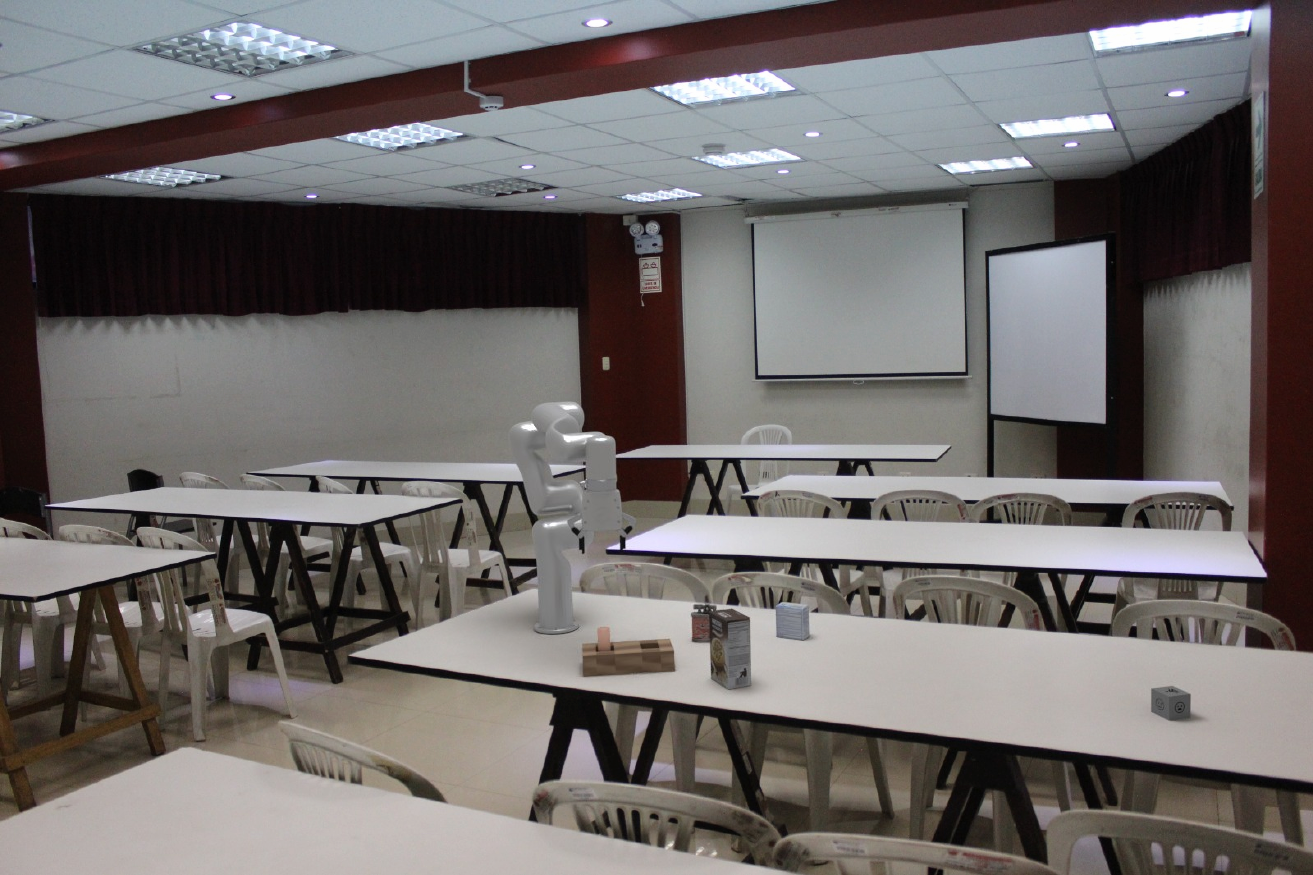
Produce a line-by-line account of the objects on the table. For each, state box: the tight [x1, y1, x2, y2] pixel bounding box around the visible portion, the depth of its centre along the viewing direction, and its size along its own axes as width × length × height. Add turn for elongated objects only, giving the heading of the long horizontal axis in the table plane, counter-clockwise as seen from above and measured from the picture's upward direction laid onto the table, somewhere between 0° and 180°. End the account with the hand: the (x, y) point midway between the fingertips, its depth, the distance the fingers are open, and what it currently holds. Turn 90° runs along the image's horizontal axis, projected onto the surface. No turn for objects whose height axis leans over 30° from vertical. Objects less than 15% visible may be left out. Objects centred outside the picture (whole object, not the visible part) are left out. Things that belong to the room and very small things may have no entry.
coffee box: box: [709, 608, 752, 690], centre depth 225 cm, size 9×6×16 cm
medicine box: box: [775, 601, 811, 641], centre depth 259 cm, size 8×4×9 cm, turn 58°
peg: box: [597, 626, 611, 652], centre depth 238 cm, size 3×3×10 cm
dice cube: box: [1150, 685, 1192, 722], centre depth 197 cm, size 5×5×5 cm
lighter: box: [690, 602, 718, 644], centre depth 258 cm, size 8×3×10 cm, turn 84°
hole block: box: [581, 638, 676, 677], centre depth 239 cm, size 10×22×5 cm, turn 95°
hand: (602, 552), depth 245 cm, fingers open, 9 cm apart
